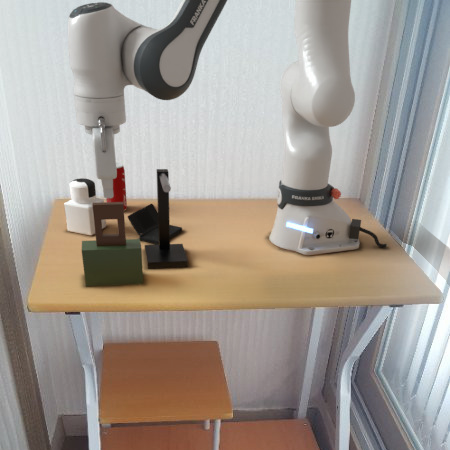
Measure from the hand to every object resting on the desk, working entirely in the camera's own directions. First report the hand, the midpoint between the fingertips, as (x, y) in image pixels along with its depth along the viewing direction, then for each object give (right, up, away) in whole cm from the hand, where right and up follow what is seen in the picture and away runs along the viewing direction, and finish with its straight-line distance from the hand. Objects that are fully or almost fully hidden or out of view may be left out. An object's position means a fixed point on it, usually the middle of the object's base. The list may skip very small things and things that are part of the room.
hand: (108, 189), depth 114 cm
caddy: (-1, -15, +12) cm, 19 cm away
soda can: (-7, +11, +46) cm, 48 cm away
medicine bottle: (-12, +2, +34) cm, 36 cm away
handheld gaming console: (+5, 0, +33) cm, 34 cm away
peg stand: (+9, -9, +21) cm, 24 cm away
